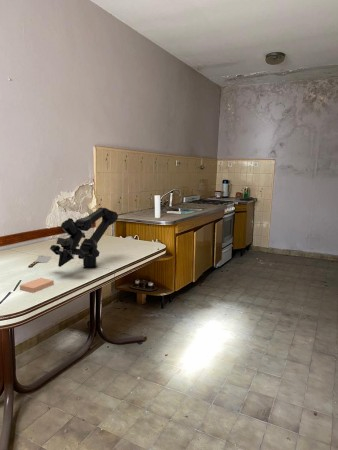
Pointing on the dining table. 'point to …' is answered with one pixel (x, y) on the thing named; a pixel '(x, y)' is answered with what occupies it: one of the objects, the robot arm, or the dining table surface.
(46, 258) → the kitchen cleaver
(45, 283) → the glazed tile
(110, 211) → the robot arm
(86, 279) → the dining table surface
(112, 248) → the dining table surface
